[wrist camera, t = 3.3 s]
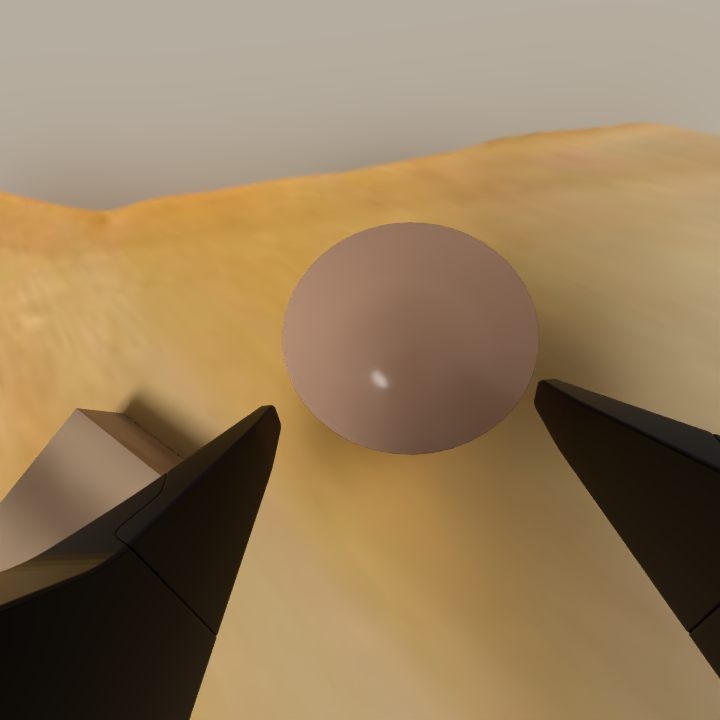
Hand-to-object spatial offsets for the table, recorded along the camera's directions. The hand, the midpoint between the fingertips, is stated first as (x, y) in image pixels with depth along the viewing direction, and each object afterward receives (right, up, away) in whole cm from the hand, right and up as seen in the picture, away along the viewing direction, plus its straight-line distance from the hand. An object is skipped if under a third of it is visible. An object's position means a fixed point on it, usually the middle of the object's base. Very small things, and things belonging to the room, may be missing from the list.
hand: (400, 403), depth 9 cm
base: (-17, -9, +8) cm, 21 cm away
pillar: (+1, -2, +8) cm, 9 cm away
